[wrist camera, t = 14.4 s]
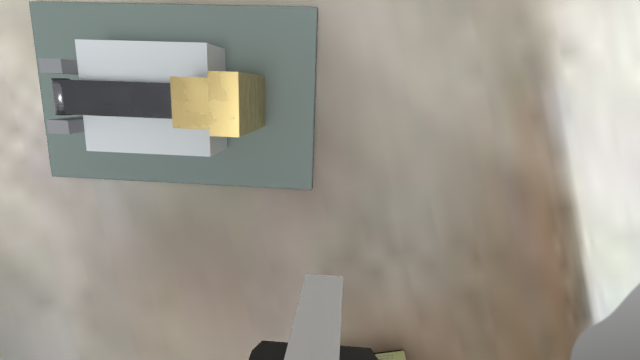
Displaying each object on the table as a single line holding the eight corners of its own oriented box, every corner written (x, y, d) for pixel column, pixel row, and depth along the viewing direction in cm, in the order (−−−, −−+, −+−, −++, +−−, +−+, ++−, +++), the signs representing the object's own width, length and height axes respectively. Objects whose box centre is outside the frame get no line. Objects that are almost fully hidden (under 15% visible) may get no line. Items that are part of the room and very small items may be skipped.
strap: (63, 114, 36) (51, 115, 34) (58, 78, 35) (46, 77, 33) (223, 120, 34) (218, 122, 33) (222, 83, 34) (217, 83, 32)
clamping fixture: (58, 174, 44) (-5, 192, 36) (36, 3, 40) (-40, -18, 32) (312, 187, 42) (303, 210, 34) (317, 8, 38) (308, -12, 30)
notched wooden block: (213, 124, 40) (173, 134, 31) (211, 74, 39) (169, 69, 30) (264, 126, 39) (239, 137, 30) (264, 76, 38) (238, 71, 29)
